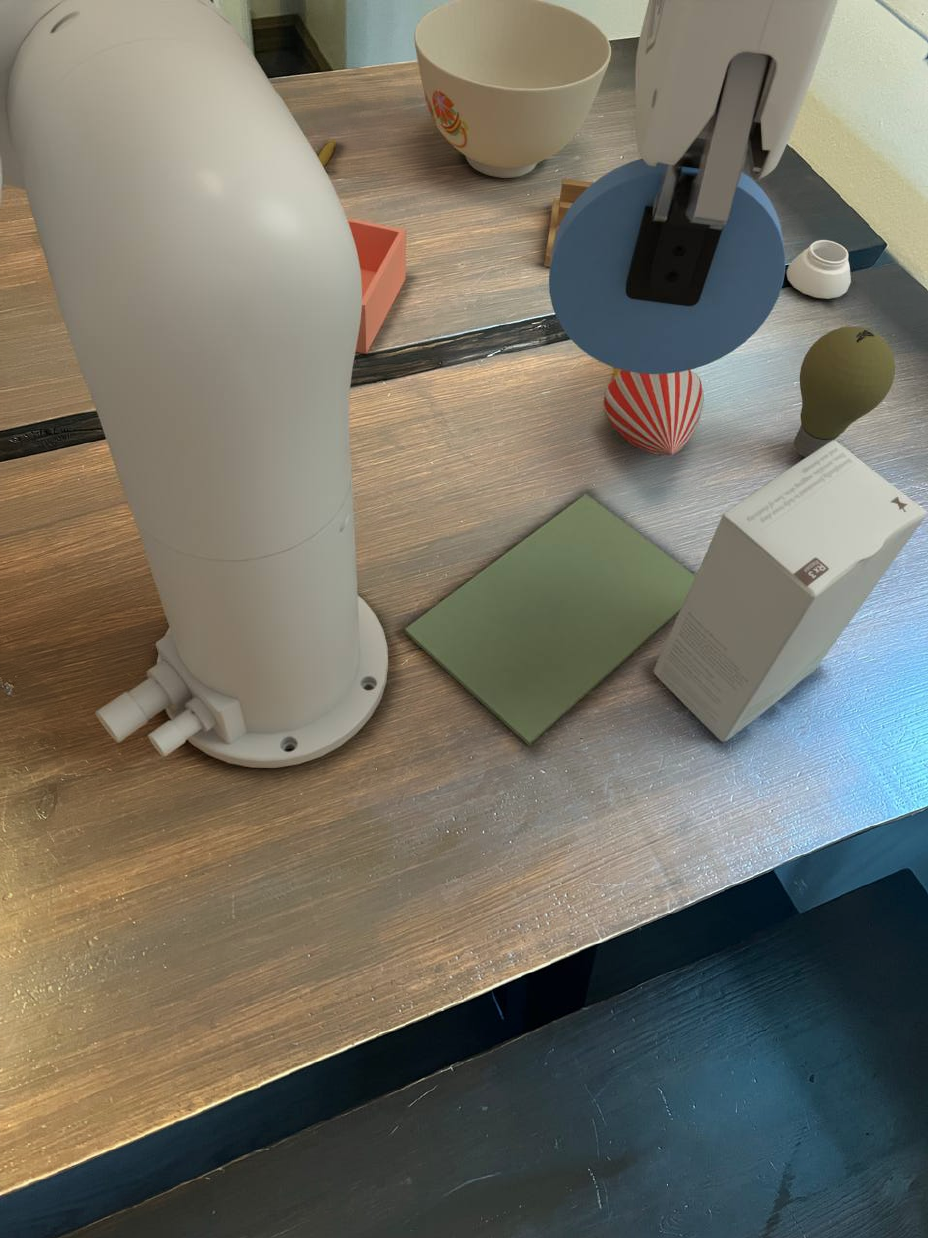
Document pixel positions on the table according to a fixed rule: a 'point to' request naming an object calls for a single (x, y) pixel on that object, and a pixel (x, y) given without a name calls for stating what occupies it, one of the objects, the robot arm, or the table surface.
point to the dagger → (327, 153)
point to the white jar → (821, 270)
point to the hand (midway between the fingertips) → (660, 281)
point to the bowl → (509, 78)
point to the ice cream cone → (655, 408)
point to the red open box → (377, 274)
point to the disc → (651, 331)
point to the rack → (563, 209)
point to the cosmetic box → (782, 585)
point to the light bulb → (841, 384)
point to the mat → (553, 616)
